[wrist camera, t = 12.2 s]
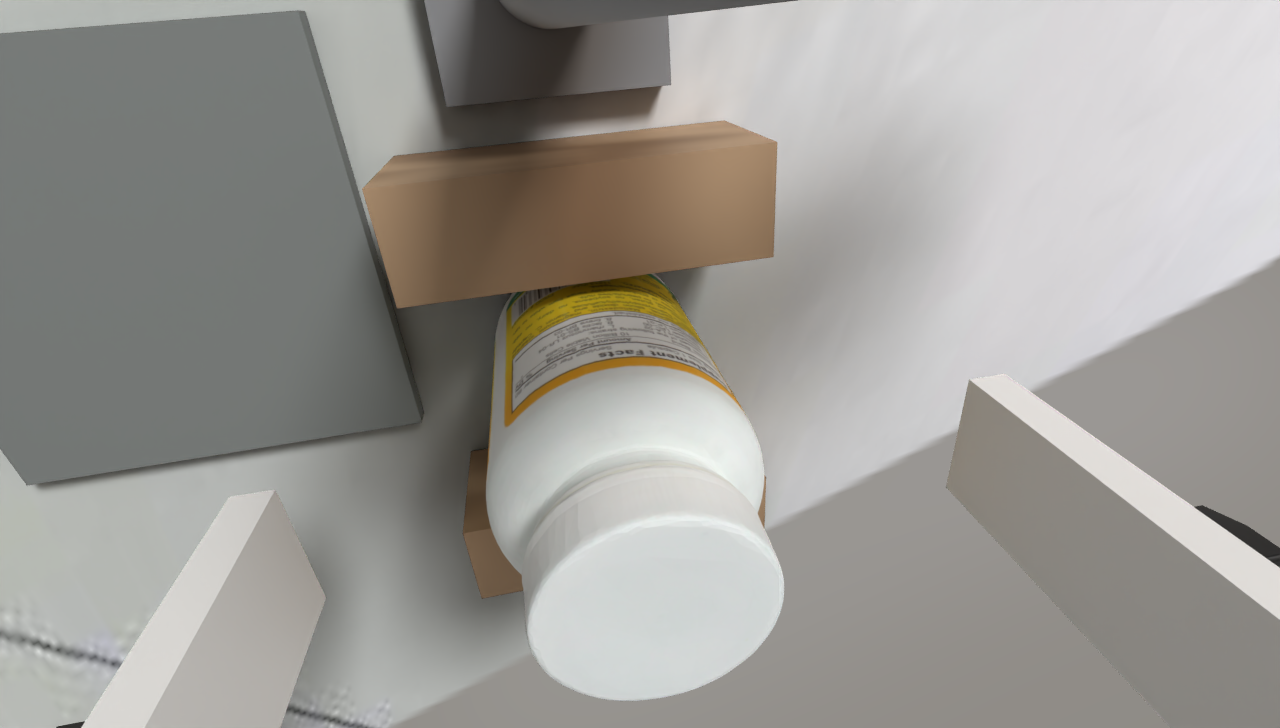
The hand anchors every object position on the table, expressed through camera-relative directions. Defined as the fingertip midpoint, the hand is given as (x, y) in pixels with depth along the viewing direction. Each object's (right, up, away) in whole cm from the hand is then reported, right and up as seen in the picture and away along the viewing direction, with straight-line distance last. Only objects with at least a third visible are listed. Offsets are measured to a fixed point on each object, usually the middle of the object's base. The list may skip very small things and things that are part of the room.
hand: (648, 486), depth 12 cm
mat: (-12, +5, +3) cm, 13 cm away
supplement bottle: (-2, +3, +6) cm, 7 cm away
